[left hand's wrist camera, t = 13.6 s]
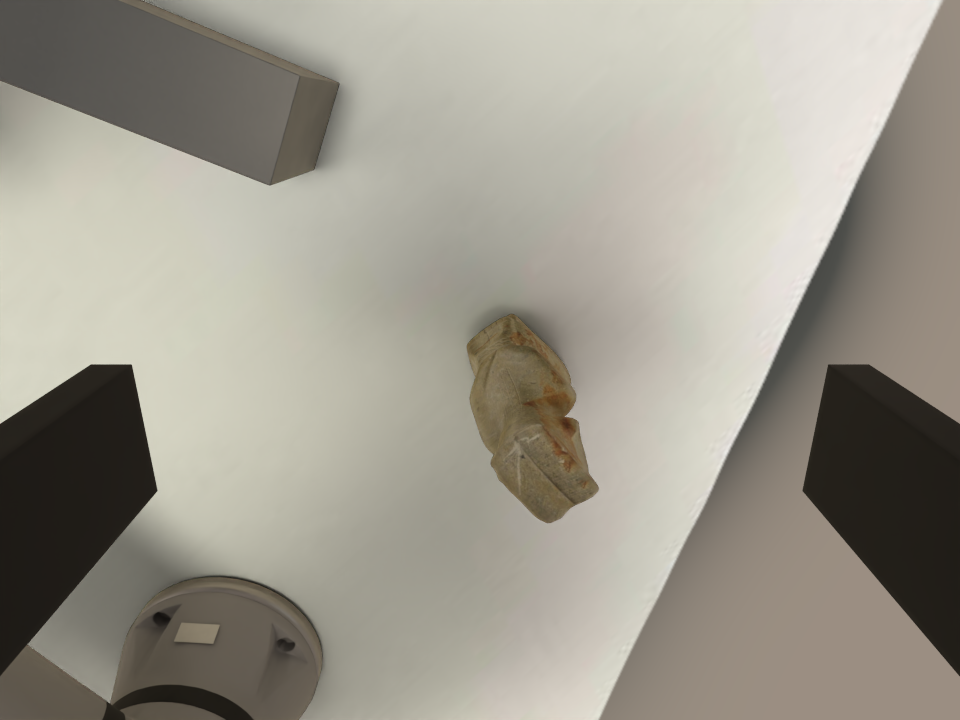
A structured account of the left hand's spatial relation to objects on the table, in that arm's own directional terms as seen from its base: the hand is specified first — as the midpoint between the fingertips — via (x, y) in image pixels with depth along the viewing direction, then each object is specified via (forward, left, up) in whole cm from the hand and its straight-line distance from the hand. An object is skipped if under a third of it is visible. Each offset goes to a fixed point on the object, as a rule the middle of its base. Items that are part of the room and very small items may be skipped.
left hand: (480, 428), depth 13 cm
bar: (+4, +21, -30) cm, 37 cm away
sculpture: (-9, -5, -30) cm, 32 cm away
